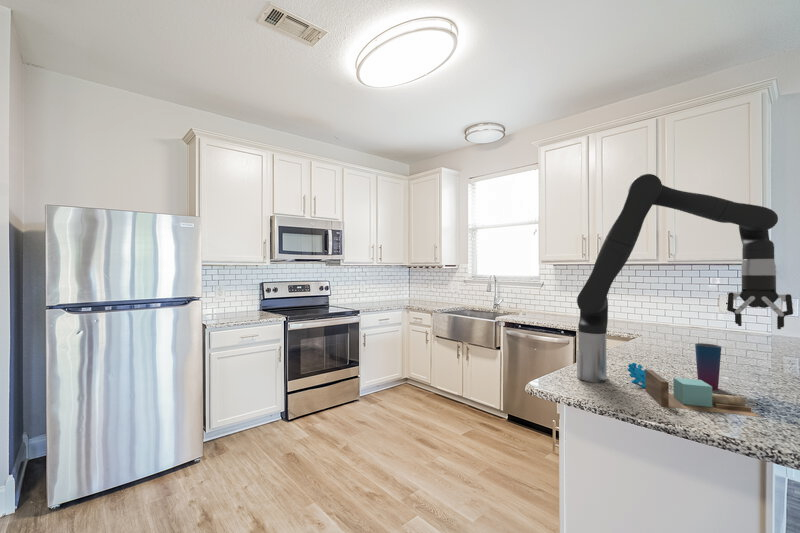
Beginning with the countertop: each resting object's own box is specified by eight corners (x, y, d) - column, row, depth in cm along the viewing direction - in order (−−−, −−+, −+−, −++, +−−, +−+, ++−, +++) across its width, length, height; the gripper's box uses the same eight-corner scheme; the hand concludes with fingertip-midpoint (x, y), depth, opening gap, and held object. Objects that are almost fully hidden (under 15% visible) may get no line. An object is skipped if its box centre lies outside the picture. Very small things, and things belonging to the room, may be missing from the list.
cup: (726, 394, 119) (726, 347, 119) (702, 392, 120) (702, 346, 121) (713, 387, 126) (713, 343, 126) (690, 386, 127) (690, 342, 127)
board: (661, 409, 105) (661, 381, 105) (645, 393, 118) (645, 369, 119) (762, 420, 98) (761, 390, 98) (733, 402, 111) (733, 376, 111)
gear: (641, 387, 120) (624, 360, 127) (628, 396, 124) (613, 369, 131) (666, 389, 123) (648, 363, 130) (652, 397, 127) (636, 371, 134)
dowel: (710, 405, 106) (710, 395, 106) (706, 402, 109) (705, 392, 109) (745, 409, 103) (745, 398, 104) (739, 405, 106) (739, 395, 106)
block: (683, 404, 106) (683, 384, 106) (673, 396, 113) (673, 377, 113) (712, 407, 104) (712, 386, 104) (700, 399, 111) (700, 379, 111)
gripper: (725, 274, 114) (726, 326, 114) (792, 274, 104) (793, 331, 104) (728, 274, 120) (729, 323, 119) (792, 274, 109) (793, 328, 109)
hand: (759, 327), depth 111 cm, fingers open, 8 cm apart
